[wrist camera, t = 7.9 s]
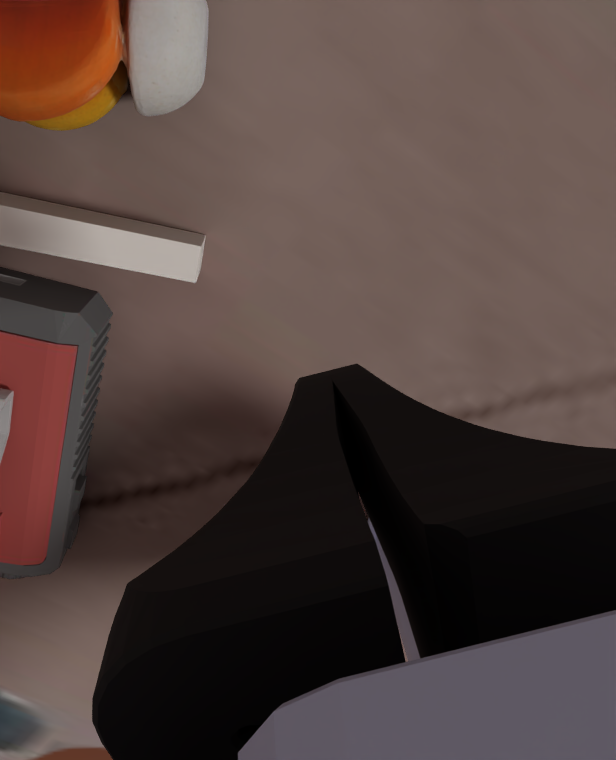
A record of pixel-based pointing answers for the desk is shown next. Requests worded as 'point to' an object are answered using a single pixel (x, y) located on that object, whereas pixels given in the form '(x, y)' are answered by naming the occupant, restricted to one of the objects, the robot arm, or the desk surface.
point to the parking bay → (99, 238)
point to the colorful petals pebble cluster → (98, 58)
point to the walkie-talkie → (45, 415)
